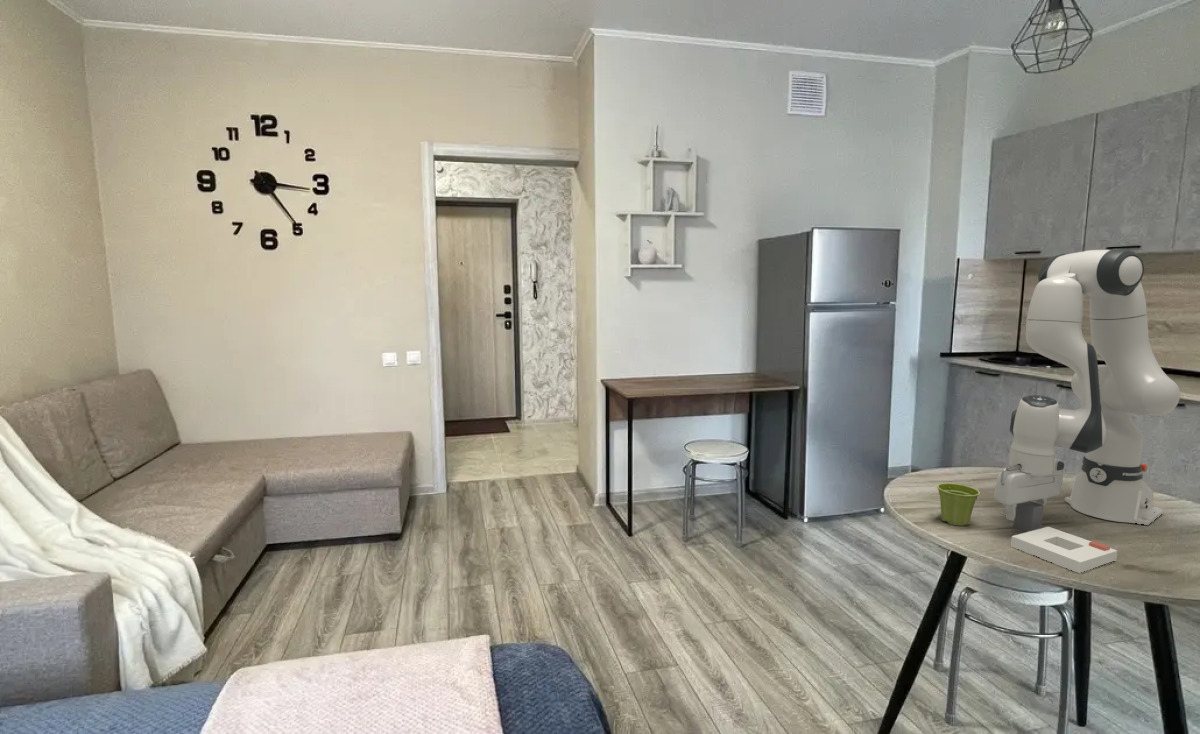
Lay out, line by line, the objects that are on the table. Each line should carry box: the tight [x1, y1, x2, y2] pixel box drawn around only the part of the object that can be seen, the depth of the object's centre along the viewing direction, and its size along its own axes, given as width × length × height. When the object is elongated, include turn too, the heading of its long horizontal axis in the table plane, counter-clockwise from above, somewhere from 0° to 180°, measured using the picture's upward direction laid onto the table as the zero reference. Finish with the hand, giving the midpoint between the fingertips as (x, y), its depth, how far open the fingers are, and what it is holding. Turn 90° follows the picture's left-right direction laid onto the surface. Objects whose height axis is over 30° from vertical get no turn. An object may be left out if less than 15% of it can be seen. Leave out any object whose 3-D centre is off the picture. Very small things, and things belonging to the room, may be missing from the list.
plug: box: [1012, 501, 1045, 533], centre depth 147 cm, size 4×4×7 cm
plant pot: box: [936, 482, 981, 527], centre depth 152 cm, size 9×9×9 cm
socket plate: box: [1010, 526, 1118, 574], centre depth 135 cm, size 14×14×3 cm
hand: (1023, 516), depth 148 cm, fingers open, 8 cm apart
